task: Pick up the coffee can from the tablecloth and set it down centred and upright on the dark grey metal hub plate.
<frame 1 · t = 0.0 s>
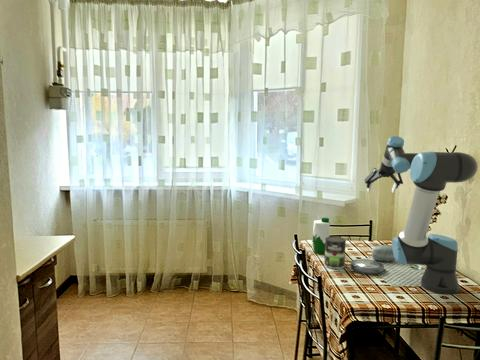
hand: (380, 191, 212), 36 cm above the table, fingers open, 13 cm apart
coffee can: (334, 266, 196), on the table
milk carton: (320, 252, 219), on the table
gray rounded cylinder: (384, 260, 205), on the table
hub plate: (366, 269, 190), on the table
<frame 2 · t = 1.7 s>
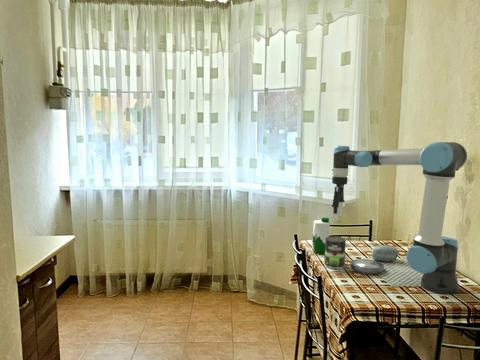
hand: (337, 217, 194), 25 cm above the table, fingers open, 13 cm apart
nothing on the table moved.
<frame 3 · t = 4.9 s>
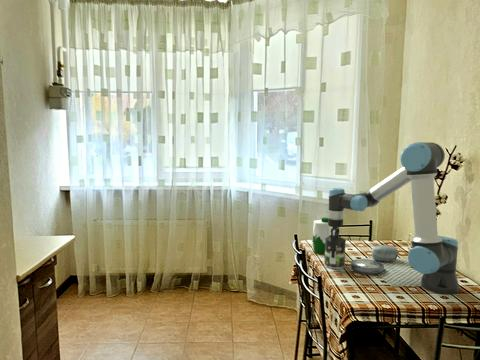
hand: (334, 260, 195), 3 cm above the table, fingers closed on coffee can, 10 cm apart
coffee can: (334, 266, 195), on the table, touching gripper
everything else where it was.
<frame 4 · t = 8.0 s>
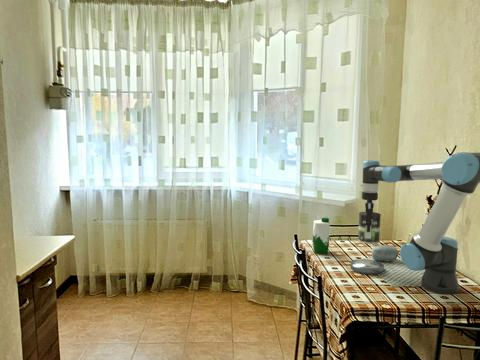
hand: (368, 235, 188), 17 cm above the table, fingers closed on coffee can, 10 cm apart
coffee can: (368, 241, 188), point 14 cm above the table, touching gripper
everything else where it was.
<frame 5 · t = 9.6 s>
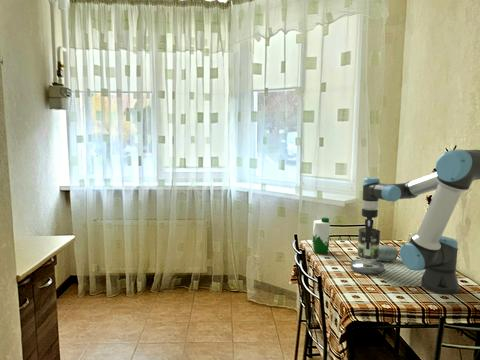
hand: (367, 252, 190), 9 cm above the table, fingers closed on coffee can, 10 cm apart
coffee can: (367, 257, 190), point 6 cm above the table, touching gripper
everything else where it was.
when the fingers open (6 cm above the table, at t = 11.1 s): coffee can stays where it is, resting on hub plate.
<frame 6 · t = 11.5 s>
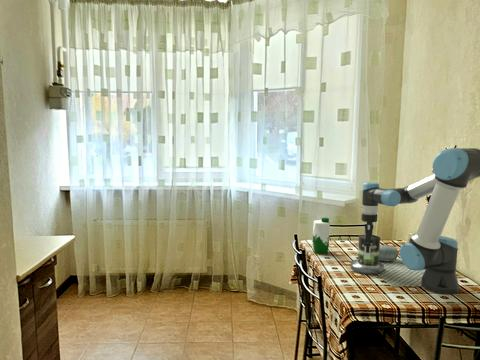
hand: (367, 254, 190), 7 cm above the table, fingers open, 13 cm apart
coffee can: (367, 264, 190), point 3 cm above the table, touching hub plate
everything else where it was.
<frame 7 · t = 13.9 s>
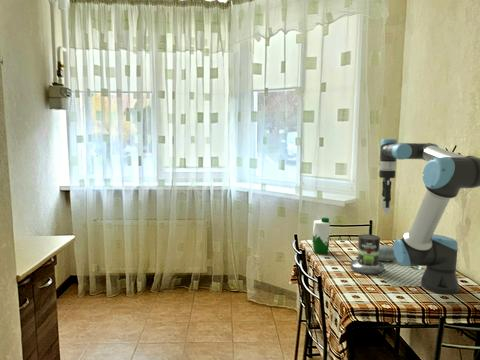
hand: (385, 211, 191), 29 cm above the table, fingers open, 13 cm apart
nothing on the table moved.
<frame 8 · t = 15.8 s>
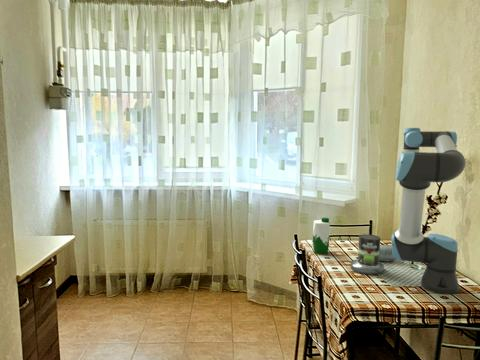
hand: (408, 198, 196), 35 cm above the table, fingers open, 13 cm apart
nothing on the table moved.
at the end: coffee can 0.4 cm off-centre on the hub plate, point 2.6 cm above the hub plate's base; coffee can tilted 1°; the gripper is holding nothing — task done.
